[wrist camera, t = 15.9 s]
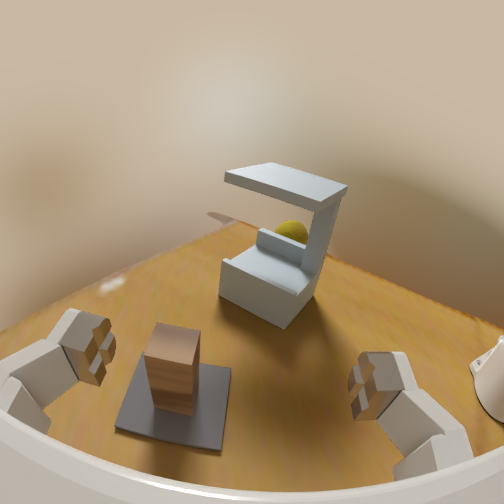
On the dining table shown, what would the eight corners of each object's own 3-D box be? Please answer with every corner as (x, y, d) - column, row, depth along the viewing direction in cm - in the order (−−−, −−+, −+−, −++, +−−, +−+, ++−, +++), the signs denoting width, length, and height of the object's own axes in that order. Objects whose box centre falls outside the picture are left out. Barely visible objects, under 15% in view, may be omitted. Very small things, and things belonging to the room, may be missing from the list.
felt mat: (230, 370, 36) (231, 368, 36) (220, 451, 26) (220, 449, 26) (143, 354, 36) (143, 351, 36) (115, 427, 26) (114, 425, 25)
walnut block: (192, 416, 29) (191, 365, 24) (154, 408, 29) (143, 354, 24) (198, 386, 33) (200, 330, 28) (163, 379, 33) (157, 322, 28)
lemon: (294, 270, 61) (302, 236, 57) (261, 257, 64) (267, 223, 60) (311, 251, 70) (319, 221, 66) (282, 240, 72) (288, 210, 69)
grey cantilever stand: (284, 334, 44) (320, 201, 33) (212, 296, 50) (225, 171, 39) (315, 296, 54) (347, 185, 44) (253, 267, 60) (271, 162, 49)
